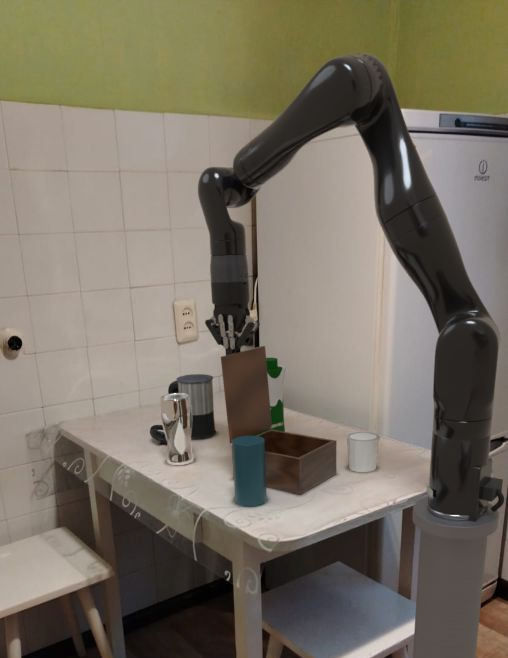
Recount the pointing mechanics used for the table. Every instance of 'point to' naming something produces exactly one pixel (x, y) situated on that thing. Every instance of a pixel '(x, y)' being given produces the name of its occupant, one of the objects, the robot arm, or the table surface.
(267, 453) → the bin
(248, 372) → the bin lid
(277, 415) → the milk carton
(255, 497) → the can
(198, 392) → the milk frother
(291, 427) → the table surface
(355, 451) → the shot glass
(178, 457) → the beer glass
